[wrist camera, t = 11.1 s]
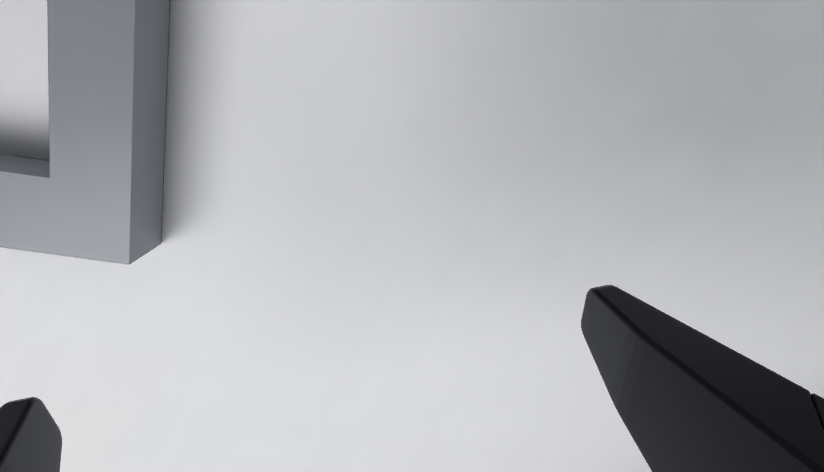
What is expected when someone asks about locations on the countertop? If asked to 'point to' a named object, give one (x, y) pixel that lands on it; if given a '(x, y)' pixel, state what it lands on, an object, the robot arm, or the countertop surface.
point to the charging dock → (95, 137)
